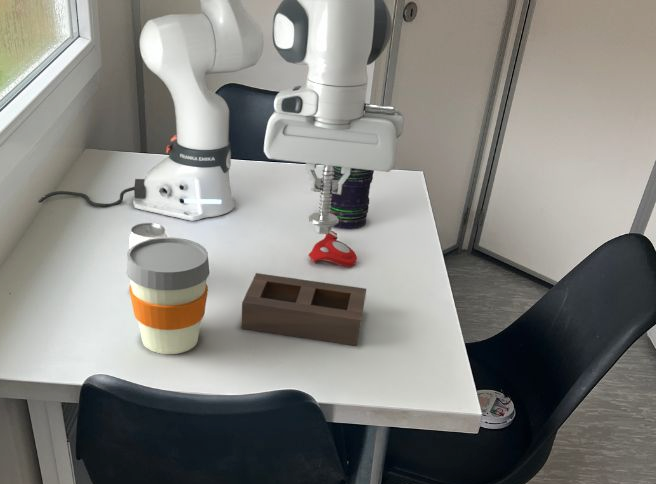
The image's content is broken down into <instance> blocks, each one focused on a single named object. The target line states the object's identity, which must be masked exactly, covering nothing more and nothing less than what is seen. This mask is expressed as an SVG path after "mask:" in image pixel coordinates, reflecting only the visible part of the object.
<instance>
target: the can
mask: <svg viewBox="0 0 656 484" xmlns="http://www.w3.org/2000/svg"><path fill="white" fill-rule="evenodd" d="M165 231H166V229H165V227H164V226H163V225H161V224H158V223H154V222H141V223H137V224H135V225H133V226H132V227H131V234H130V235H129V249H130V248H131V247H132V246H134V245H135V244H137V243H139V242H142V241H145V240H148V239H154V238H163V237H168V235H167V234H166V232H165Z"/></svg>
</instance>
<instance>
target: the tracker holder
mask: <svg viewBox="0 0 656 484" xmlns="http://www.w3.org/2000/svg"><path fill="white" fill-rule="evenodd" d="M308 257H309V258H310V259H311V260H312V262H313V263H314V264H315V263H317V262H318V261H328V262H331V263H334V264H336V265H339V266H343V267H352V266H354V265H356V262H357V260H358V256H357V253H356V252H355V251H354V249H352V248H351V247H350V246H349V245H347V244H345V243H344V242H342V241H340V240H338V233H337V232H335V231H334V230H331V232H329V233H328V234H325V236H324V238H323V239H321V240H319V241H318V242H316V243H315V244H314V245H313V247H312V249H311V251H310V253H308Z"/></svg>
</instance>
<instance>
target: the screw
mask: <svg viewBox="0 0 656 484" xmlns="http://www.w3.org/2000/svg"><path fill="white" fill-rule="evenodd" d="M333 171H334V169H333V166H329V165H323V170H322V174H321V175H322V177H321V178H322V184H321V186H322V188H321V192H320V195H319V197H320V199H319V201H320V202H319V203H318V204H319V207H318V209H319V210H318V212H314V213H312V214H311V215H309V216H308V222H309V223H310V224H311V225H314V226H313V231H314V232H315V233H317V234H319V235H326V234H328V233H329V232H331V231H332V226H335V225H337V224H338V222H339V219H338V218H337V217H336V216H335V215H333V214H330V212H329V211H330V207H331V205H330V204H331V202H330V201H331V200H332V199H331V197H332V195H331V193H332V191H331V190H332V189H333V188H332V182H333V180H332V179H333V178H334V177H333V175H334V172H333Z"/></svg>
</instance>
